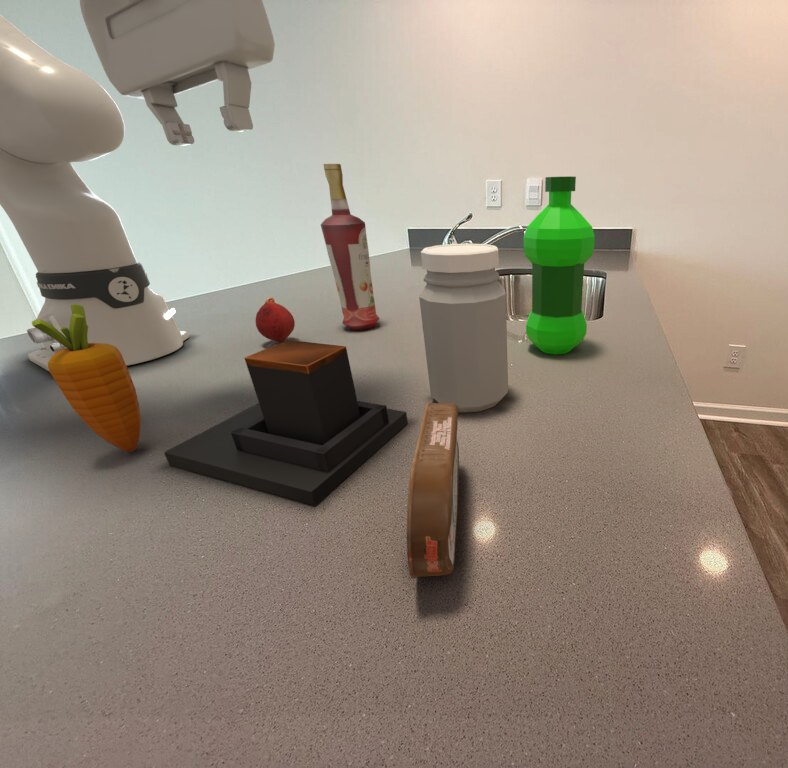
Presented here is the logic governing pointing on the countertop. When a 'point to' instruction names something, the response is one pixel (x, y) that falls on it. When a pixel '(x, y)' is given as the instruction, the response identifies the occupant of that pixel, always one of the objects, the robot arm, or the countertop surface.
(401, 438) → the countertop surface
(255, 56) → the robot arm
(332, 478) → the base pad
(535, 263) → the plastic bottle
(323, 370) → the pad block
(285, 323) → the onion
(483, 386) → the jar
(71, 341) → the carrot
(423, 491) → the tin
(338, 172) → the liquor
